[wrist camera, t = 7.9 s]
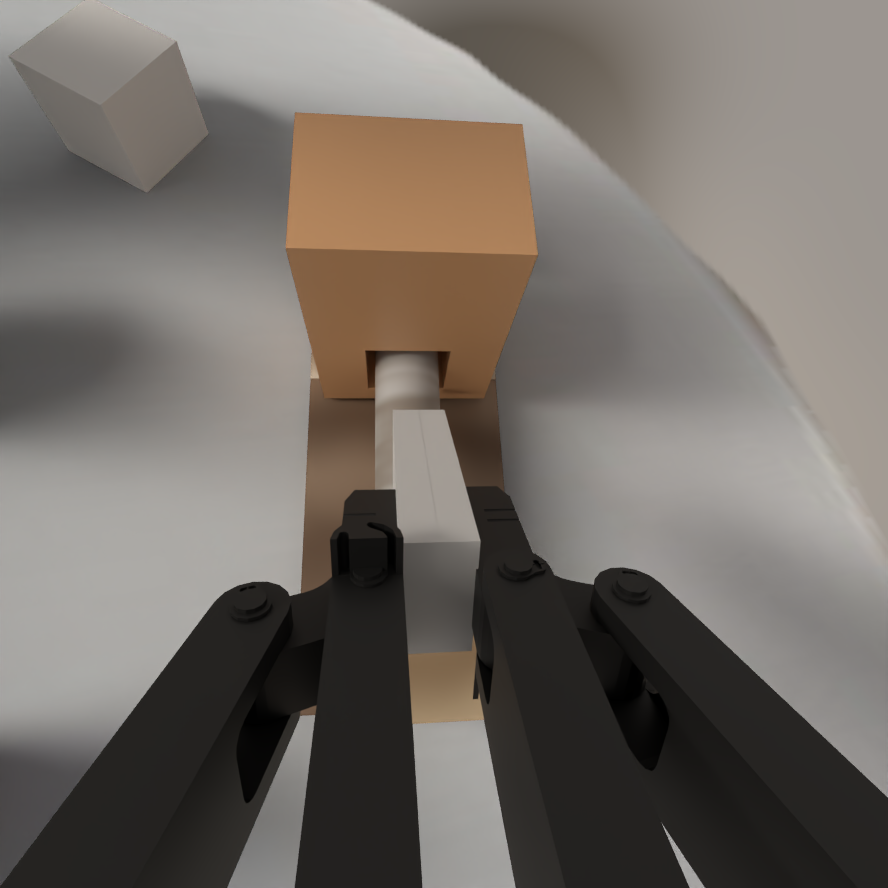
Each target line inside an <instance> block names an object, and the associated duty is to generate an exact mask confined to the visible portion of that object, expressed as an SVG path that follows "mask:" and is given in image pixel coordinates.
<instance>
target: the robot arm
mask: <svg viewBox="0 0 888 888" xmlns="http://www.w3.org/2000/svg"><path fill="white" fill-rule="evenodd" d="M330 551H331V569H332V577H331V578H330V579H329V580H328V581H326V582H325V583H324V584H323V585H321V586H319V587H317V588H315V589H313V590H310V591H307V592H304V593H300V594H297V595H293V596H289V594H288V592H287V591H286V590H285V589H284V588H282V587H281V586H280V585H277V584H273V583H270V582H251V583H247V584H243V585H239V586H236V587H234V588H232V589H230V590H229V591H227V592H225V593H224V594H223V595H221V596H220V597H219V598H218V599H217V600H216V601H215V602H214V603H213V605H212V606H211V607H210V609H209V610H208V611H207V613H206V614H205V615H204V617H203V618H202V619H201V621H200V622H199V623H198V625H197V626H196V627H195V629H194V630H193V631H192V633H191V634H190V635H189V637H188V638H187V639H186V641H185V642H184V643H183V645H182V646H181V647H180V649H179V650H178V651H177V653H176V654H175V655H174V657H173V658H172V659H171V661H170V662H169V663H168V665H167V666H166V667H165V668H164V670H163V671H162V672H161V674H160V675H159V676H158V678H157V679H156V680H155V682H154V683H153V684H152V686H151V687H150V688H149V690H148V691H147V692H146V694H145V695H144V696H143V698H142V699H141V700H140V702H139V703H138V704H137V706H136V707H135V708H134V710H133V711H132V712H131V714H130V715H129V716H128V718H127V719H126V720H125V722H124V723H123V724H122V726H121V727H120V728H119V730H118V731H117V732H116V734H115V735H114V736H113V738H112V739H111V740H110V742H109V743H108V744H107V746H106V747H105V748H104V750H103V751H102V752H101V754H100V755H99V756H98V758H97V759H96V760H95V761H94V763H93V764H92V765H91V767H90V768H89V769H88V771H87V772H86V773H85V775H84V776H83V777H82V779H81V780H80V781H79V783H78V784H77V785H76V787H75V788H74V789H73V791H72V792H71V793H70V795H69V796H68V797H67V799H66V800H65V801H64V803H63V804H62V805H61V807H60V808H59V809H58V811H57V812H56V813H55V815H54V816H53V817H52V819H51V820H50V821H49V823H48V824H47V825H46V827H45V828H44V829H43V831H42V832H41V833H40V835H39V836H38V837H37V839H36V840H35V841H34V843H33V844H32V845H31V847H30V848H29V849H28V851H27V852H26V853H25V854H24V856H23V857H22V858H21V860H20V861H19V862H18V864H17V865H16V866H15V868H14V869H13V870H12V872H11V873H10V874H9V876H8V877H7V878H6V880H5V881H4V882H3V884H2V885H1V886H0V888H227V886H228V884H229V882H230V879H231V877H232V875H233V872H234V870H235V868H236V865H237V863H238V861H239V858H240V856H241V854H242V851H243V849H244V847H245V844H246V842H247V840H248V837H249V835H250V833H251V830H252V828H253V826H254V823H255V821H256V819H257V816H258V814H259V812H260V809H261V807H262V805H263V802H264V800H265V798H266V795H267V793H268V791H269V788H270V786H271V784H272V781H273V779H274V777H275V774H276V772H277V770H278V767H279V765H280V763H281V760H282V758H283V756H284V753H285V751H286V749H287V746H288V744H289V742H290V739H291V737H292V735H293V732H294V730H295V728H296V725H297V723H298V721H299V718H300V713H301V711H302V710H305V709H307V708H310V707H313V706H316V705H317V706H316V714H315V722H314V731H313V739H312V748H311V756H310V764H309V773H308V781H307V789H306V798H305V806H304V815H303V823H302V831H301V840H300V848H299V856H298V865H297V873H296V882H295V888H422V874H421V857H420V841H419V825H418V808H417V792H416V775H415V759H414V742H413V726H412V710H411V693H410V677H409V660H408V654H420V653H440V652H460V651H472V641H473V635H474V640H475V645H476V650H477V653H476V664H475V676H474V688H473V699H478V697H479V695H480V700H481V706H482V711H483V716H484V721H485V727H486V732H487V737H488V743H489V748H490V753H491V759H492V764H493V769H494V775H495V780H496V785H497V791H498V796H499V801H500V807H501V812H502V817H503V823H504V828H505V833H506V839H507V844H508V849H509V854H510V860H511V865H512V870H513V876H514V881H515V886H516V888H689V886H688V883H687V881H686V879H685V876H684V874H683V872H682V869H681V867H680V865H679V863H678V860H677V858H676V856H675V853H674V851H673V849H672V846H671V844H670V842H669V839H668V837H667V835H666V833H665V830H664V828H663V826H662V824H663V825H664V827H665V828H666V830H667V831H668V833H669V834H670V836H671V837H672V839H673V840H674V842H675V843H676V845H677V846H678V848H679V849H680V851H681V852H682V854H683V855H684V857H685V858H686V860H687V861H688V863H689V864H690V866H691V867H692V869H693V870H694V872H695V873H696V875H697V876H698V878H699V879H700V881H701V882H702V884H703V885H704V887H705V888H888V798H887V797H886V796H885V795H884V794H883V793H882V792H881V791H880V790H879V789H878V788H877V787H876V786H875V785H874V784H873V783H872V782H871V781H869V780H868V779H867V778H866V777H865V776H864V775H863V774H862V773H861V772H860V771H859V770H858V769H857V768H856V767H855V766H854V765H852V764H851V763H850V762H849V761H848V760H847V759H846V758H845V757H844V756H843V755H842V754H841V753H840V752H839V751H838V750H837V749H836V748H834V747H833V746H832V745H831V744H830V743H829V742H828V741H827V740H826V739H825V738H824V737H823V736H822V735H821V734H820V733H819V732H817V731H816V730H815V729H814V728H813V727H812V726H811V725H810V724H809V723H808V722H807V721H806V720H805V719H804V718H803V717H802V716H801V715H799V714H798V713H797V712H796V711H795V710H794V709H793V708H792V707H791V706H790V705H789V704H788V703H787V702H786V701H785V700H784V699H783V698H781V697H780V696H779V695H778V694H777V693H776V692H775V691H774V690H773V689H772V688H771V687H770V686H769V685H768V684H767V683H766V682H764V681H763V680H762V679H761V678H760V677H759V676H758V675H757V674H756V673H755V672H754V671H753V670H752V669H751V668H750V667H749V666H748V665H746V664H745V663H744V662H743V661H742V660H741V659H740V658H739V657H738V656H737V655H736V654H735V653H734V652H733V651H732V650H731V649H729V648H728V647H727V646H726V645H725V644H724V643H723V642H722V641H721V640H720V639H719V638H718V637H717V636H716V635H715V634H714V633H713V632H711V631H710V630H709V629H708V628H707V627H706V626H705V625H704V624H703V623H702V622H701V621H700V620H699V619H698V618H697V617H696V616H695V615H693V614H692V613H691V612H690V611H689V610H688V609H687V608H686V607H685V606H684V605H683V604H682V603H681V602H680V601H679V600H678V599H676V598H675V597H674V596H673V595H672V594H671V593H670V592H669V591H668V590H667V589H666V588H665V587H664V586H663V585H662V584H661V583H659V582H658V581H656V580H655V579H654V578H652V577H651V576H649V575H647V574H645V573H642V572H640V571H637V570H633V569H628V568H609V569H607V570H605V571H602V572H600V573H599V575H598V576H597V577H596V578H595V581H594V585H591V584H585V583H580V582H575V581H570V580H566V579H562V578H560V577H557V576H555V575H554V574H553V572H552V570H551V568H550V566H549V565H548V564H547V562H546V561H545V560H543V559H542V558H540V557H539V556H537V555H536V554H533V553H532V550H531V548H530V545H529V543H528V540H527V538H526V536H525V533H524V531H523V528H522V526H521V523H520V521H519V518H518V516H517V513H516V511H515V508H514V506H513V504H512V501H511V499H510V496H508V495H507V494H506V493H505V492H504V491H502V490H501V489H500V488H499V487H498V486H469V487H466V486H465V483H464V479H463V476H462V472H461V468H460V465H459V461H458V457H457V454H456V450H455V447H454V443H453V439H452V436H451V432H450V428H449V425H448V421H447V418H446V414H445V410H393V489H378V490H354V491H353V492H352V493H351V494H350V496H349V497H348V498H347V499H346V500H345V502H344V511H343V520H342V525H341V526H340V527H339V528H337V529H336V530H335V531H334V532H333V534H332V536H331V538H330ZM661 822H662V823H661Z"/></svg>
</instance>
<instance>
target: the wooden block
mask: <svg viewBox="0 0 888 888" xmlns="http://www.w3.org/2000/svg"><path fill="white" fill-rule="evenodd" d="M286 251H287V255H288V259H289V263H290V267H291V271H292V275H293V278H294V282H295V286H296V290H297V294H298V298H299V302H300V306H301V309H302V313H303V317H304V321H305V325H306V329H307V333H308V337H309V340H310V344H311V348H312V352H313V356H314V360H315V364H316V368H317V372H318V375H319V379H320V383H321V387H322V391H323V395H324V398H375V351H438V370H439V394H440V398H484V397H485V394H486V391H487V389H488V386H489V383H490V381H491V378H492V376H493V373H494V370H495V368H496V365H497V362H498V360H499V357H500V354H501V352H502V349H503V346H504V344H505V341H506V338H507V336H508V333H509V330H510V328H511V325H512V323H513V320H514V317H515V315H516V312H517V309H518V307H519V304H520V301H521V299H522V296H523V293H524V291H525V288H526V285H527V283H528V280H529V277H530V275H531V272H532V269H533V267H534V264H535V262H536V259H537V256H538V251H537V242H536V234H535V226H534V218H533V209H532V201H531V193H530V184H529V176H528V168H527V160H526V151H525V143H524V135H523V126H522V124H506V123H487V122H468V121H449V120H429V119H410V118H391V117H372V116H352V115H333V114H314V113H295V119H294V134H293V148H292V163H291V177H290V192H289V206H288V221H287V235H286Z"/></svg>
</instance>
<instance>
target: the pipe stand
mask: <svg viewBox="0 0 888 888" xmlns="http://www.w3.org/2000/svg"><path fill="white" fill-rule="evenodd" d="M495 380H496V376H495V370H494V373H493V376H492V378H491V381H490V383H489V386H488V389H487V391H486V394H485V397H484V398H440V394H439V370H438V351H375V398H324V395H323V391H322V387H321V383H320V379H319V375H318V372H317V368H316V364H315V360H314V356H313V352H312V356H311V384H310V406H309V428H308V450H307V472H306V494H305V515H304V537H303V559H302V581H301V593H304V592H307V591H310V590H313V589H315V588H317V587H319V586H321V585H323V584H324V583H325V582H326V581H328V580H329V579H330V578H331V577H332V569H331V551H330V538H331V536H332V534H333V532H334V531H335V530H336V529H337V528H339V527H340V526H341V525H342V520H343V511H344V502H345V500H346V499H347V498H348V497H349V496H350V494H351V493H352V492H353V491H354V490H378V489H393V410H445V414H446V418H447V421H448V425H449V428H450V432H451V436H452V439H453V443H454V447H455V450H456V454H457V457H458V461H459V465H460V468H461V472H462V476H463V479H464V483H465V486H466V487H469V486H498V487H499V488H500V489H501V490H502V491H504V480H503V467H502V455H501V443H500V430H499V418H498V406H497V393H496V381H495ZM476 653H477V650H476V645H475V640H474V635H473V641H472V651H460V652H440V653H420V654H408V660H409V677H410V693H411V710H412V724H418V723H435V722H453V721H470V720H484V716H483V711H482V706H481V700H480V695H479V697H478V699H473V688H474V676H475V664H476ZM316 706H317V705H316ZM316 706H313V707H310V708H307V709H305V710H302V711H301V713H300V716H302V715H315V714H316Z"/></svg>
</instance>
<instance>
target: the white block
mask: <svg viewBox="0 0 888 888" xmlns="http://www.w3.org/2000/svg"><path fill="white" fill-rule="evenodd" d="M9 58H10V59H11V61H12V63H13V64H14V66H15V67H16V69H17V70H18V72H19V74H20V75H21V77H22V78H23V80H24V81H25V83H26V84H27V86H28V88H29V89H30V91H31V92H32V94H33V95H34V97H35V99H36V100H37V102H38V103H39V105H40V106H41V108H42V109H43V111H44V113H45V114H46V116H47V117H48V119H49V120H50V122H51V124H52V125H53V127H54V128H55V130H56V131H57V133H58V134H59V136H60V138H61V139H62V141H63V142H64V144H65V145H66V147H67V148H68V150H69V151H71V152H72V153H74V154H76V155H78V156H80V157H82V158H83V159H85V160H87V161H89V162H91V163H93V164H94V165H96V166H98V167H100V168H102V169H104V170H105V171H107V172H109V173H111V174H113V175H115V176H116V177H118V178H120V179H122V180H124V181H126V182H127V183H129V184H131V185H133V186H135V187H137V188H138V189H140V190H142V191H144V192H146V193H148V192H149V191H150V190H151V189H152V188H153V187H154V186H155V185H156V184H157V183H158V182H159V181H160V180H161V179H162V178H163V177H164V176H165V175H166V174H167V173H169V172H170V171H171V170H172V169H173V168H174V167H175V166H176V165H177V164H178V163H179V162H180V161H181V160H182V159H183V158H184V157H185V156H186V155H187V154H188V153H189V152H190V151H191V150H192V149H194V148H195V147H196V146H197V145H198V144H199V143H200V142H201V141H202V140H203V139H204V138H205V137H206V136H207V135H208V134H209V133H208V130H207V127H206V124H205V122H204V119H203V116H202V113H201V110H200V107H199V104H198V102H197V99H196V96H195V93H194V90H193V87H192V84H191V81H190V79H189V76H188V73H187V70H186V67H185V64H184V61H183V59H182V56H181V53H180V50H179V47H178V44H177V41H175V40H173V39H171V38H169V37H167V36H165V35H163V34H161V33H159V32H157V31H155V30H154V29H152V28H150V27H148V26H146V25H144V24H142V23H140V22H138V21H136V20H134V19H132V18H130V17H128V16H126V15H124V14H122V13H120V12H118V11H116V10H114V9H112V8H110V7H108V6H106V5H104V4H103V3H101V2H99V1H97V0H84V1H83V2H81V3H80V4H78V5H77V6H76V7H74V8H73V9H72V10H70V11H69V12H68V13H66V14H65V15H64V16H62V17H61V18H59V19H58V20H57V21H55V22H54V23H53V24H51V25H50V26H49V27H47V28H46V29H45V30H43V31H42V32H40V33H39V34H38V35H36V36H35V37H34V38H32V39H31V40H30V41H28V42H27V43H26V44H24V45H23V46H21V47H20V48H19V49H17V50H16V51H15V52H13V53H12V54H11V55H9Z"/></svg>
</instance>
